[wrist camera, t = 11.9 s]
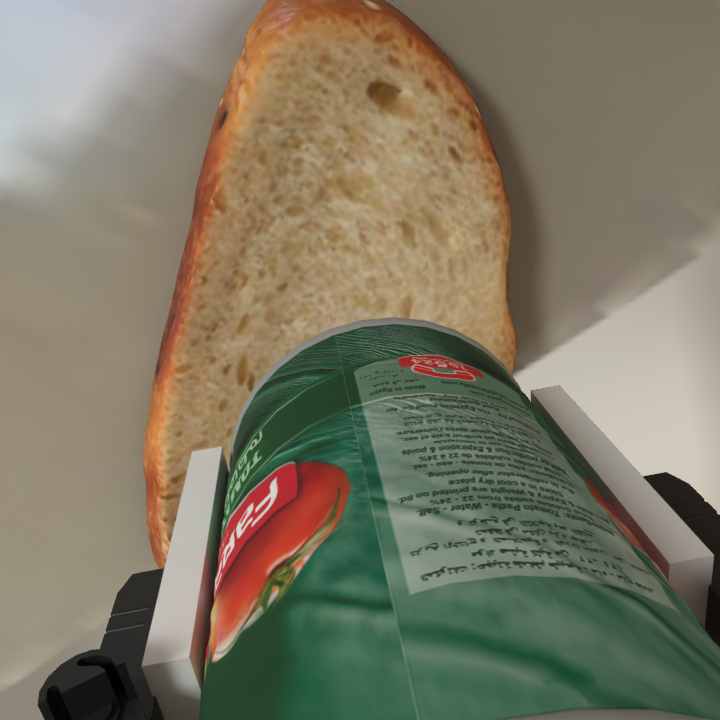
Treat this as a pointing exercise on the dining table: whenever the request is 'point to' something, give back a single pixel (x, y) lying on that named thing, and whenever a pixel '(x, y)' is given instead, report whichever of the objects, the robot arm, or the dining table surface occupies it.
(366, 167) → the bread slice
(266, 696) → the canned tomato
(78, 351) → the dining table surface
